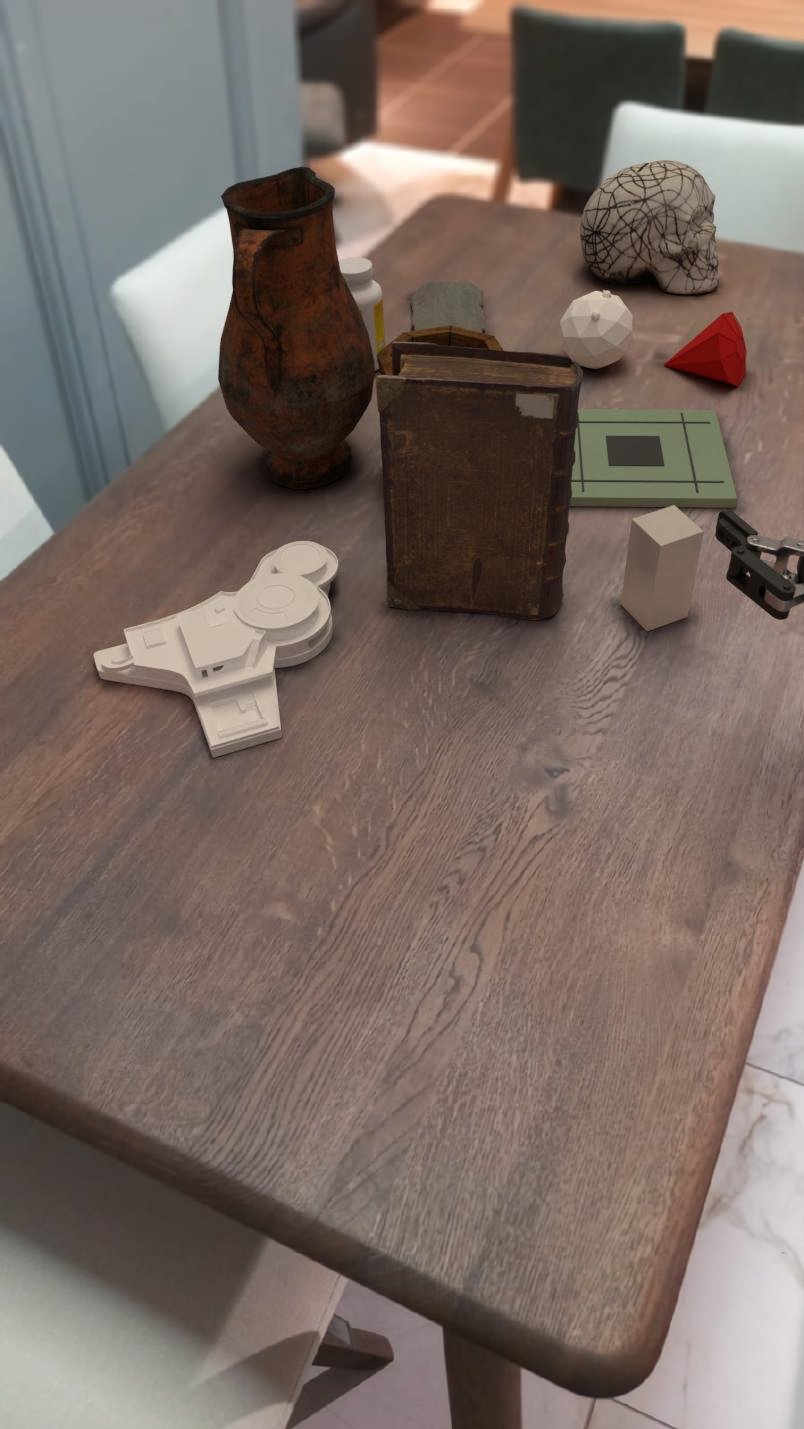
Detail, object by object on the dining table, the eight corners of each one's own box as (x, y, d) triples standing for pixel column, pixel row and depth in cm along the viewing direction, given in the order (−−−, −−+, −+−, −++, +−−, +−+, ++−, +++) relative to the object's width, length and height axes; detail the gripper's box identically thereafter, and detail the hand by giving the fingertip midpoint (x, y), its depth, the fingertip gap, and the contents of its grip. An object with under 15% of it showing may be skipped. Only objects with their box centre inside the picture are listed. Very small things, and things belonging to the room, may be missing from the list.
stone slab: (479, 299, 155) (409, 293, 154) (482, 280, 153) (411, 274, 152) (489, 380, 139) (411, 374, 139) (493, 360, 137) (414, 354, 137)
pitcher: (395, 428, 130) (382, 159, 108) (352, 535, 115) (327, 250, 94) (261, 418, 132) (222, 154, 111) (202, 521, 118) (145, 240, 97)
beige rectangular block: (660, 590, 107) (674, 504, 100) (687, 617, 104) (704, 531, 97) (619, 604, 106) (631, 518, 99) (646, 632, 103) (660, 545, 96)
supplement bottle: (373, 347, 144) (368, 249, 135) (394, 369, 140) (390, 269, 131) (326, 359, 142) (317, 260, 133) (346, 381, 138) (338, 281, 129)
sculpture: (666, 317, 147) (683, 201, 136) (555, 273, 157) (562, 162, 147) (735, 280, 153) (755, 167, 143) (623, 241, 164) (635, 133, 153)
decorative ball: (641, 402, 136) (619, 325, 127) (564, 399, 142) (538, 325, 133) (665, 351, 140) (645, 273, 130) (589, 351, 145) (565, 275, 136)
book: (567, 591, 107) (588, 353, 90) (553, 638, 103) (573, 397, 85) (404, 566, 111) (393, 333, 93) (383, 610, 107) (368, 373, 89)
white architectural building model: (84, 620, 107) (72, 584, 104) (327, 557, 113) (323, 521, 110) (127, 782, 92) (115, 746, 89) (405, 701, 98) (403, 664, 94)
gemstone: (643, 376, 133) (722, 357, 127) (652, 315, 136) (731, 294, 129) (673, 415, 140) (750, 399, 134) (681, 356, 142) (757, 338, 136)
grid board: (713, 418, 129) (715, 408, 128) (735, 508, 116) (737, 497, 115) (542, 417, 130) (542, 407, 129) (545, 506, 118) (545, 495, 117)
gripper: (1020, 553, 73) (852, 438, 83) (850, 616, 69) (696, 487, 80) (982, 638, 78) (829, 520, 89) (822, 701, 74) (681, 570, 85)
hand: (766, 505), depth 84 cm, fingers open, 8 cm apart
